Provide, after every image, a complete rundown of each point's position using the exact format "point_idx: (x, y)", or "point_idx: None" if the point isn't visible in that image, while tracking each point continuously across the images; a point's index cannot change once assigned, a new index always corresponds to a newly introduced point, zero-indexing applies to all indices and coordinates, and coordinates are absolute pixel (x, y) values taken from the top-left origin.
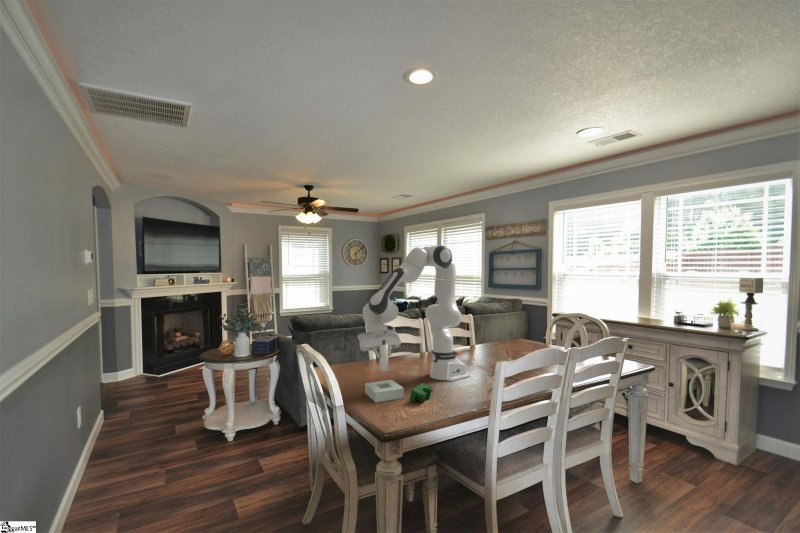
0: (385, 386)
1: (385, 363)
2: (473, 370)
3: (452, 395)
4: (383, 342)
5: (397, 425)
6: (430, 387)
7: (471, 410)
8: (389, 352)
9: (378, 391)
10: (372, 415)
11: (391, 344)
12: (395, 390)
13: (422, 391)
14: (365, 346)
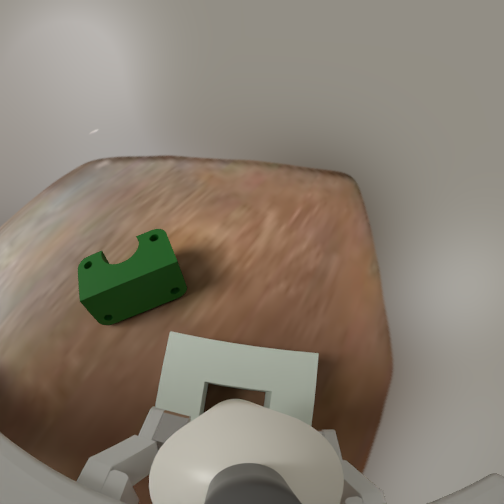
0: None
1: (243, 400)
2: None
3: (50, 255)
4: (284, 487)
5: (316, 188)
6: (84, 268)
7: (110, 163)
8: (165, 428)
9: (299, 360)
10: (355, 267)
11: (62, 479)
12: (214, 341)
13: (142, 245)
14: (491, 481)
